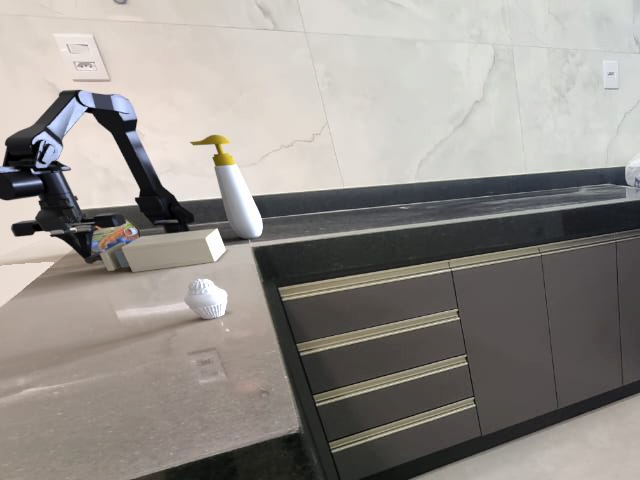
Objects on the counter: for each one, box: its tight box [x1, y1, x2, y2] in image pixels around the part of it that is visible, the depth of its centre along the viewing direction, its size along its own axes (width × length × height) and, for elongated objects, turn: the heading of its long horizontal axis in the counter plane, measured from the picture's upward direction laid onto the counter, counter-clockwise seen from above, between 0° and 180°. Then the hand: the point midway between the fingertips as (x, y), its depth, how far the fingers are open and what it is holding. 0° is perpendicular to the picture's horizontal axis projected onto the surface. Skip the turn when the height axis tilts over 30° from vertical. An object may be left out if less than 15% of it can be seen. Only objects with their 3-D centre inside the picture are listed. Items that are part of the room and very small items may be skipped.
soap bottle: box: [189, 134, 263, 240], centre depth 155 cm, size 13×10×29 cm
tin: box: [76, 218, 142, 254], centre depth 151 cm, size 15×3×8 cm, turn 168°
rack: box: [84, 242, 130, 272], centre depth 133 cm, size 20×13×4 cm
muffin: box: [183, 278, 228, 320], centre depth 94 cm, size 6×6×7 cm
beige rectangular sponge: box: [121, 228, 226, 273], centre depth 136 cm, size 17×15×6 cm
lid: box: [105, 238, 136, 250], centre depth 140 cm, size 5×6×6 cm
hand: (88, 259), depth 129 cm, fingers closed
